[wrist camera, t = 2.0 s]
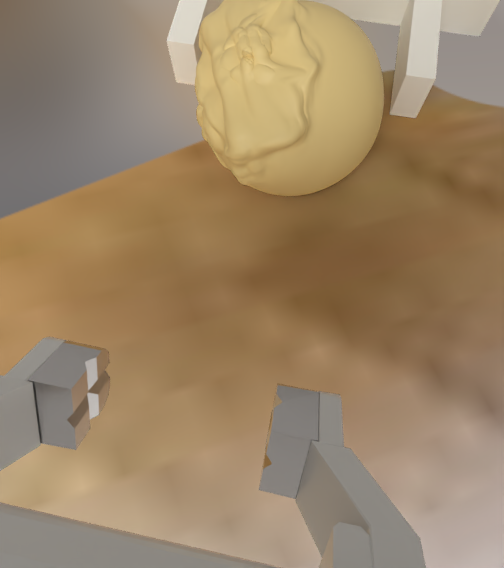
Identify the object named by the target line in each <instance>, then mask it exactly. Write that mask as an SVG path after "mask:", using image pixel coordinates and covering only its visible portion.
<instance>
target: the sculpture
mask: <svg viewBox="0 0 504 568" xmlns="http://www.w3.org/2000/svg"><path fill="white" fill-rule="evenodd" d="M199 48H200V50H201V52H202V55H201V57H200V59H199V62H198V64H197V67H196V77H195V92H196V95H197V100H198V102H199V105H198V107H197V110H196V115H197V121H198V123H199V125H200V126H201V127H202V136H203V138H204V139H205V140H206V141H207V142H208V143H209V145H210V147H211V148H212V149H213V152H214V154H215V155H216V157H217V158H218V160H219V161H220V163H221V164H222V165H223V166H224V167H225V168H227V169H229V170H230V171H231V172H232V173H233V175H234V176H235V177H237V180H238V181H239V183H241V184H243V185H249V186H250V187H252V188H254V189H256V190H259V191H262V192H265V193H268V194H273V195H279V196H299V195H306V194H311V193H314V192H317V191H320V190H323V189H325V188H327V187H330V186H332V185H333V184H335V183H337V182H339V181H340V180H342V179H343V178H345V177H346V176H347V175H348V174H350V173H351V172H352V171H353V170H354V169H355V168H356V167H357V166H358V165H359V164H360V163H361V162H362V161H363V159H364V158H365V157H366V155H367V154H368V152H369V151H370V149H371V147H372V145H373V144H374V141H375V139H376V137H377V134H378V131H379V128H380V125H381V120H382V115H383V108H384V84H383V76H382V71H381V67H380V63H379V60H378V57H377V55H376V52H375V50H374V48H373V46H372V44H371V42H370V40H369V39H368V37H367V36H366V34H365V33H364V32H363V30H362V29H361V28H360V27H359V26H358V25H357V24H356V23H355V22H354V21H353V20H352V19H351V18H349V17H348V16H347V15H345V14H344V13H342V12H340V11H339V10H337V9H335V8H333V7H330V6H328V5H325V4H322V3H318V2H314V1H307V0H224V1H223V2H222V3H221V4H220V6H219V7H218V8H217V9H216V10H215V11H213V12H211V13H210V14H209V15H207V16H206V17H205V18H204V19H203V21H202V23H201V26H200V31H199Z"/></svg>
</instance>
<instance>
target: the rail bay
mask: <svg viewBox="0 0 504 568" xmlns="http://www.w3.org/2000/svg"><path fill="white" fill-rule="evenodd" d="M223 1H224V0H180V1H179V4H178V7H177V10H176V13H175V16H174V19H173V23H172V26H171V28H170V32H169V35H168V38H167V45H168V49H169V53H170V57H171V62H172V66H173V70H174V74H175V78H176V82H177V83H184V84H190V85H195V77H196V67H197V64H198V62H199V59H200V57H201V55H202V52H201V50H200V48H199V31H200V26H201V23H202V21H203V19H204V18H205V17H206V16H207V15H209V14H210V13H211V12H213V11H215V10H216V9H217V8H218V7H219V6H220V4H221V3H222V2H223ZM307 1H314V2H318V3H322V4H325V5H328V6H330V7H333V8H335V9H337V10H339V11H340V12H342V13H344V14H345V15H347V16H348V17H349V18H351V19H352V20H359V21H366V22H374V23H381V24H389V25H396V26H400V32H399V40H398V48H397V57H396V65H395V73H394V81H393V90H392V98H391V107H390V115H397V116H403V117H410V118H416V117H417V115H418V113H419V111H420V109H421V107H422V105H423V103H424V101H425V99H426V97H427V95H428V93H429V91H430V89H431V87H432V85H433V84H434V82H435V80H436V69H437V56H438V45H439V33H440V32H447V33H455V34H462V35H469V36H477V37H480V35H481V33H482V32H483V30H484V28H485V26H486V24H487V23H488V21H489V19H490V17H491V16H492V14H493V12H494V10H495V9H496V7H497V5H498V3H499V2H500V0H307Z"/></svg>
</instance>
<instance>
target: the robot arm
mask: <svg viewBox="0 0 504 568" xmlns="http://www.w3.org/2000/svg"><path fill="white" fill-rule="evenodd" d="M109 363H110V362H109V352H108V351H107V350H106V349H104V348H100V347H95V346H91V345H86V344H82V343H77V342H73V341H69V340H68V341H66V340H63V339H58V338H54V337H46V338H43V339H42V340H41V341H40V342H39V343H38V344H37V345H36V346H35V347H34V348H33V349H32V350H31V351H30V352H28V353H27V354H26V355H25V356H24V357H23V358H22V359H21V360H20V361H19V362H18V363H17V364H16V365H15V366H14V367H13V368H12V369H11V370H10V371H9V372H8V373H7V374H6V375H5V376H1V375H0V471H1V470H2V469H4V468H5V467H7V466H9V465H10V464H12V463H13V462H15V461H16V460H18V459H20V458H21V457H23V456H24V455H26V454H28V453H29V452H31V451H32V450H34V449H35V448H37V447H39V446H40V445H41V444H40V443H43V444H48V445H53V446H58V447H64V448H69V449H74V450H76V449H77V448H78V446H79V445H80V443H81V442H82V440H83V439H84V437H85V436H86V434H87V433H88V431H89V429H90V419H92V418H94V417H96V416H98V415H99V414H100V412H101V411H102V409H103V407H104V406H105V403H106V400H107V397H108V395H109V389H110V377H109V375H108V374H107V373H106V371H105V369H106V367H107V366H108V364H109ZM259 490H261V491H266V492H270V493H274V494H278V495H282V496H286V497H290V498H294V499H296V503H297V505H298V507H299V509H300V512H301V514H302V516H303V518H304V520H305V522H306V524H307V527H308V529H309V531H310V533H311V535H312V537H313V539H314V542H315V544H316V546H317V548H318V550H319V552H320V554H321V557H322V560H321V563H320V566H319V568H426V566H425V561H424V556H423V551H422V546H421V541H420V538H419V536H418V535H417V534H416V533H415V531H414V530H413V529H412V527H411V526H410V525H409V524H408V522H407V521H406V520H405V518H404V517H403V516H402V514H401V513H400V512H399V511H398V509H397V508H396V507H395V505H394V504H393V503H392V502H391V500H390V499H389V498H388V496H387V495H386V494H385V493H384V491H383V490H382V489H381V487H380V486H379V485H378V483H377V482H376V481H375V480H374V478H373V477H372V476H371V474H370V473H369V472H368V471H367V469H366V468H365V467H364V465H363V464H362V463H361V462H360V460H359V459H358V458H357V456H356V455H355V454H354V452H353V451H352V450H351V449H350V448H346V447H344V437H343V419H342V401H341V396H340V395H339V394H334V393H328V392H322V391H319V392H318V391H314V390H309V389H304V388H298V387H293V386H288V385H283V384H277V388H276V393H275V398H274V404H273V410H272V413H271V418H270V424H269V429H268V434H267V441H266V447H265V455H264V461H263V466H262V473H261V480H260V487H259ZM0 568H282V567H278V566H273V565H269V564H265V563H260V562H256V561H252V560H247V559H243V558H239V557H234V556H230V555H226V554H221V553H217V552H212V551H208V550H204V549H199V548H195V547H191V546H186V545H182V544H178V543H173V542H169V541H165V540H160V539H156V538H152V537H147V536H143V535H139V534H134V533H130V532H126V531H122V530H117V529H113V528H109V527H104V526H100V525H96V524H91V523H87V522H83V521H78V520H74V519H70V518H65V517H61V516H57V515H52V514H48V513H44V512H39V511H35V510H31V509H26V508H22V507H18V506H13V505H9V504H5V503H0Z"/></svg>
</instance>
